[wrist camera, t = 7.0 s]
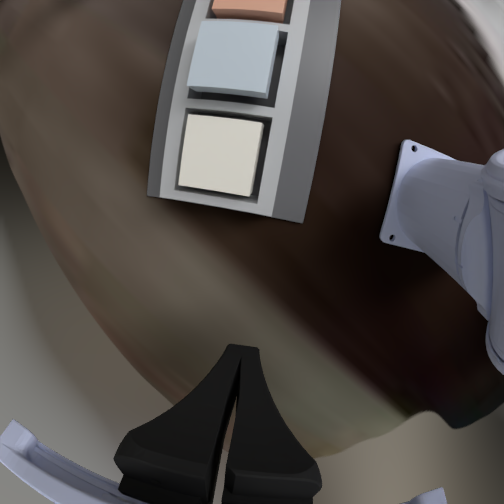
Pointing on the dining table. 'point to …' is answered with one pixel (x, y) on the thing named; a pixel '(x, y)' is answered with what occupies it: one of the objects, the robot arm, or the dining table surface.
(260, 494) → the robot arm
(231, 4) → the terracotta key
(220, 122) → the ivory key
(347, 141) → the dining table surface
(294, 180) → the keypad
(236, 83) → the bluegrey key
